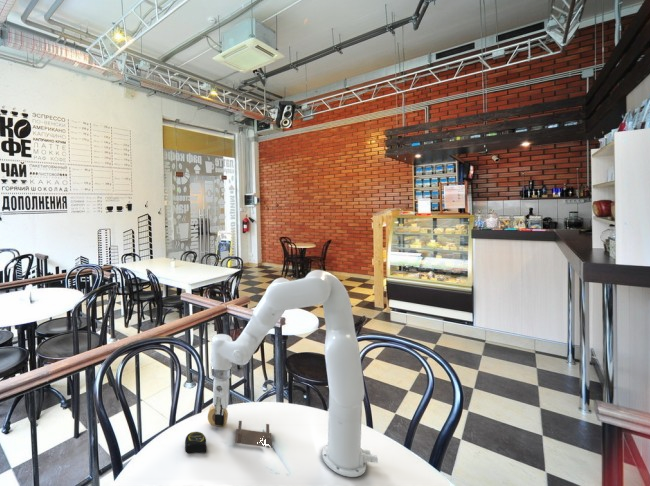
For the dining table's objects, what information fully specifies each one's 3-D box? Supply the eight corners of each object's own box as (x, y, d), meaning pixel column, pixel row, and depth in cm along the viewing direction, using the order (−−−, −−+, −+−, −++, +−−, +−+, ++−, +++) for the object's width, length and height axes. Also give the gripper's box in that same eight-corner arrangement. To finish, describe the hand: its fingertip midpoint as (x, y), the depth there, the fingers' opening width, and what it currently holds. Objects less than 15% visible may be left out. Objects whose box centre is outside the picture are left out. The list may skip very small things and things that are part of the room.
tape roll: (229, 422, 118) (226, 403, 118) (228, 427, 115) (225, 407, 116) (210, 424, 119) (207, 404, 119) (209, 428, 116) (206, 409, 117)
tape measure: (184, 457, 102) (184, 445, 102) (185, 441, 109) (185, 430, 109) (206, 457, 103) (206, 445, 103) (206, 441, 109) (206, 430, 109)
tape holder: (271, 435, 113) (271, 424, 113) (271, 450, 106) (272, 438, 106) (236, 431, 115) (236, 420, 115) (234, 445, 108) (235, 433, 108)
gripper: (229, 383, 109) (228, 438, 109) (233, 361, 125) (232, 409, 125) (207, 381, 110) (205, 435, 110) (214, 359, 126) (212, 407, 126)
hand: (219, 421), depth 117 cm, fingers closed on tape roll, 2 cm apart
